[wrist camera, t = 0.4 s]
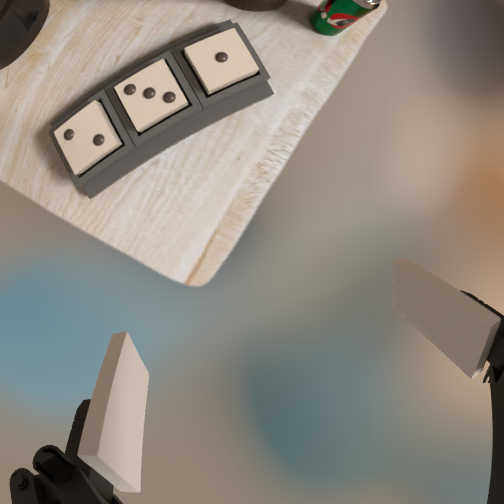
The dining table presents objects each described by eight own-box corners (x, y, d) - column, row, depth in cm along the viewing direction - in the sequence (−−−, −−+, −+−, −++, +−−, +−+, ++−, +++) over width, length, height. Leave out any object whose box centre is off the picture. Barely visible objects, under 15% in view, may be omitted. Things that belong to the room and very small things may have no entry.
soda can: (346, 30, 31) (392, 1, 20) (323, 41, 31) (367, 10, 20) (325, 6, 29) (365, -29, 18) (301, 16, 29) (338, -22, 18)
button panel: (56, 124, 28) (41, 121, 24) (228, 25, 28) (232, 11, 24) (94, 196, 33) (82, 202, 29) (270, 96, 33) (279, 89, 29)
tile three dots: (119, 91, 26) (113, 86, 24) (165, 65, 26) (163, 58, 24) (141, 132, 28) (136, 130, 26) (188, 105, 28) (187, 101, 26)
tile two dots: (62, 133, 26) (53, 132, 24) (101, 103, 26) (94, 99, 24) (83, 173, 28) (74, 174, 26) (123, 144, 28) (117, 143, 26)
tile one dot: (184, 55, 26) (184, 47, 24) (231, 35, 26) (234, 27, 24) (208, 95, 28) (209, 90, 26) (254, 74, 29) (259, 68, 26)
